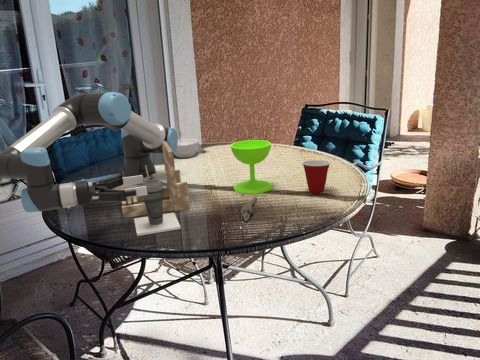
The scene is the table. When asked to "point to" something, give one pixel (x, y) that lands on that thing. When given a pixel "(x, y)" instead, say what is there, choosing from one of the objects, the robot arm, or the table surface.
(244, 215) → the natural artifact
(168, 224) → the white tile
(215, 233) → the table surface
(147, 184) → the beverage cup
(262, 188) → the wineglass
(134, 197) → the plywood offcuts
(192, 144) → the paper bowls
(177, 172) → the pine rack
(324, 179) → the plastic cup
